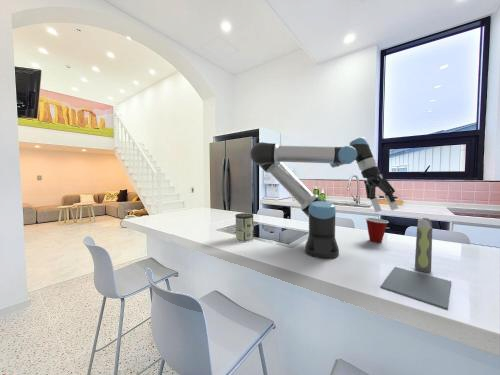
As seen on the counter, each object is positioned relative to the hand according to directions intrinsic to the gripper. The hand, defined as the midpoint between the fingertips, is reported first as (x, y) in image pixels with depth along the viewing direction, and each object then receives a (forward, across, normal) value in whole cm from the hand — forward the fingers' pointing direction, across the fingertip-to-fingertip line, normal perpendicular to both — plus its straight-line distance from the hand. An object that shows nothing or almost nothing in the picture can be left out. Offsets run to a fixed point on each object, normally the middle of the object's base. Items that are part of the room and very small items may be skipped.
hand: (386, 210), depth 99 cm
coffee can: (-5, +20, +70) cm, 73 cm away
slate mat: (+23, -25, +14) cm, 37 cm away
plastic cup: (+16, +19, +1) cm, 25 cm away
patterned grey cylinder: (+24, -14, +4) cm, 28 cm away
